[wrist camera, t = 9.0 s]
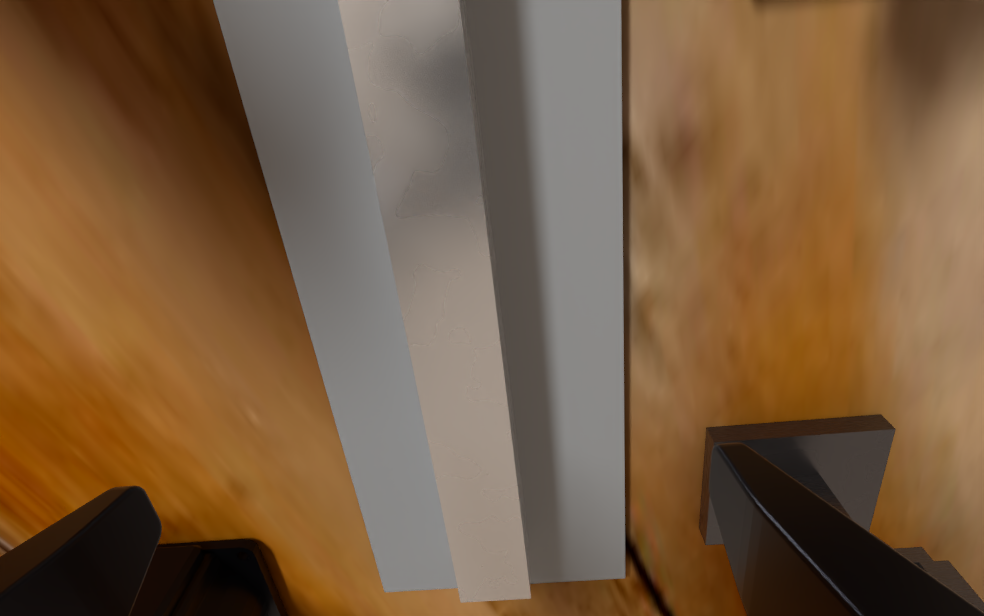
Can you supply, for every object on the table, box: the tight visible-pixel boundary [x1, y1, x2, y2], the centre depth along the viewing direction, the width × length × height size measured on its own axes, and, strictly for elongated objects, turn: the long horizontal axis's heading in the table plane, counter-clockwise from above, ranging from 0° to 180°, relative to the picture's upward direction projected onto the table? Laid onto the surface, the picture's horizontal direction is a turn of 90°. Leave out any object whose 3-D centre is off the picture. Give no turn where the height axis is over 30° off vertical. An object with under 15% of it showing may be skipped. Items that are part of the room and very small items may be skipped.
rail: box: [338, 0, 531, 602], centre depth 16 cm, size 23×2×2 cm, turn 6°
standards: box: [699, 415, 984, 612], centre depth 13 cm, size 24×6×7 cm, turn 6°
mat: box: [213, 0, 625, 592], centre depth 17 cm, size 28×10×1 cm, turn 6°
